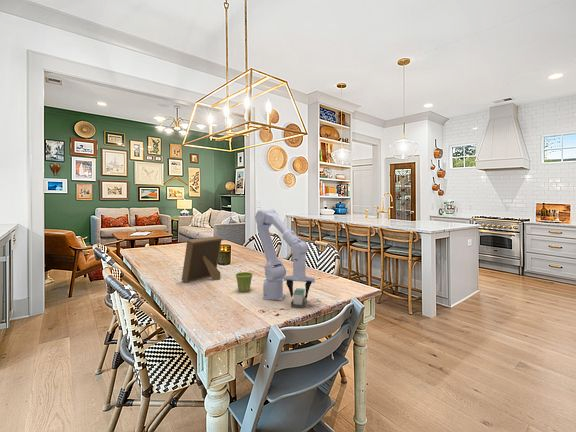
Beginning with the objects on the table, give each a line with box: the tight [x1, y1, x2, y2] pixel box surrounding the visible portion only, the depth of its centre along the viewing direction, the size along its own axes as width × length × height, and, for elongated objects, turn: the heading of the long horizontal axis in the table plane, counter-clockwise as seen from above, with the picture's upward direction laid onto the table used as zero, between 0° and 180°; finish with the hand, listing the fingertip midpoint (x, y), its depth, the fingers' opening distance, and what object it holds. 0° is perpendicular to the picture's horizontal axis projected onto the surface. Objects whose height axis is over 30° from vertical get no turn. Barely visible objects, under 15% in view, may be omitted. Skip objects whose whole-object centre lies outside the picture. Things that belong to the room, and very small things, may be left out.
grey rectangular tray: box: [290, 297, 308, 309], centre depth 140 cm, size 6×11×2 cm, turn 168°
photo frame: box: [181, 235, 222, 283], centre depth 178 cm, size 15×22×25 cm
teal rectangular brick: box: [292, 287, 306, 305], centre depth 139 cm, size 4×8×5 cm, turn 168°
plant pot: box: [234, 271, 254, 293], centre depth 159 cm, size 9×9×9 cm
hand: (299, 296), depth 139 cm, fingers open, 6 cm apart
